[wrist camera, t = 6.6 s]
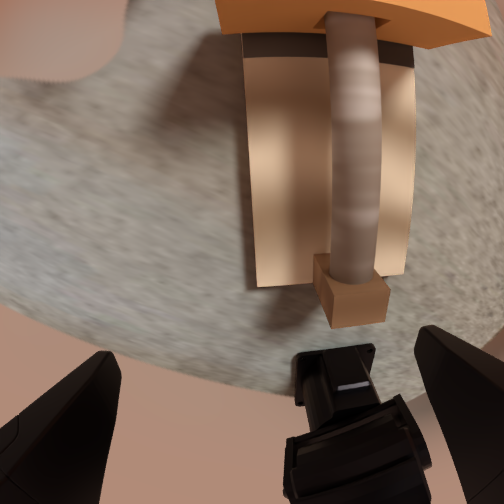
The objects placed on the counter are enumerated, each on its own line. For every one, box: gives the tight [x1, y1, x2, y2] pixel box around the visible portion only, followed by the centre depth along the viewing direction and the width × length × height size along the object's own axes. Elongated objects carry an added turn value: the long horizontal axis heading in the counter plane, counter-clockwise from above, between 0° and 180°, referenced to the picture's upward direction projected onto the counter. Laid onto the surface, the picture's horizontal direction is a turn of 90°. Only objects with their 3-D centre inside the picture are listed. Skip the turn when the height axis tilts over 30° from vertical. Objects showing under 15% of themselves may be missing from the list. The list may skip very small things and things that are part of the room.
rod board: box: [241, 11, 416, 329], centre depth 14 cm, size 20×10×6 cm, turn 3°
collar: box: [215, 0, 492, 49], centre depth 10 cm, size 2×12×6 cm, turn 93°
